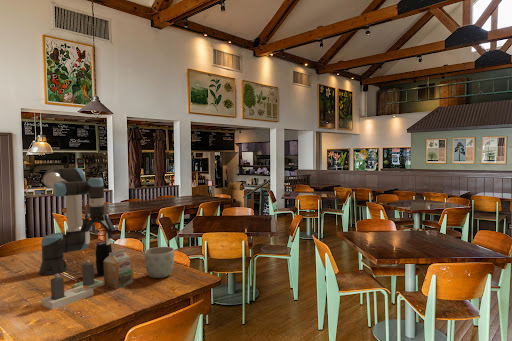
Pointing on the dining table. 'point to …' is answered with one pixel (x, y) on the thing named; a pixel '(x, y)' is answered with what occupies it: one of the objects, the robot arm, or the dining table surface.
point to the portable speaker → (102, 256)
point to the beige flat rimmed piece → (68, 297)
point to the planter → (159, 261)
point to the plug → (88, 273)
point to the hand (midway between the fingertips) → (98, 243)
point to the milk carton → (118, 269)
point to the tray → (96, 284)
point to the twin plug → (57, 287)
